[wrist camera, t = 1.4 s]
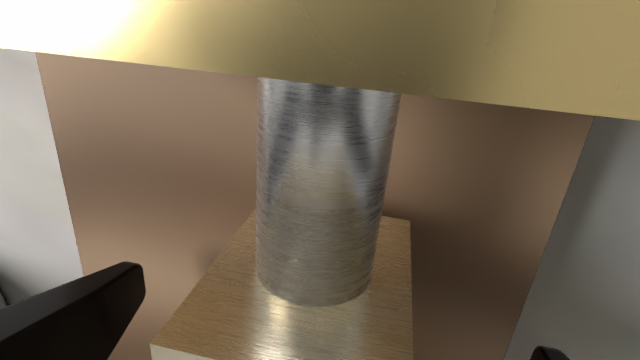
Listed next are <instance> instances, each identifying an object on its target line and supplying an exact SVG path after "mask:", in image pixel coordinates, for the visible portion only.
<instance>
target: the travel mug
mask: <svg viewBox="0 0 640 360" xmlns="http://www.w3.org/2000/svg"><path fill="white" fill-rule="evenodd" d="M6 306H7V305H6V302H5V300H4V297H3V296H2V294H1V292H0V309H1V308H4V307H6Z"/></svg>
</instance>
